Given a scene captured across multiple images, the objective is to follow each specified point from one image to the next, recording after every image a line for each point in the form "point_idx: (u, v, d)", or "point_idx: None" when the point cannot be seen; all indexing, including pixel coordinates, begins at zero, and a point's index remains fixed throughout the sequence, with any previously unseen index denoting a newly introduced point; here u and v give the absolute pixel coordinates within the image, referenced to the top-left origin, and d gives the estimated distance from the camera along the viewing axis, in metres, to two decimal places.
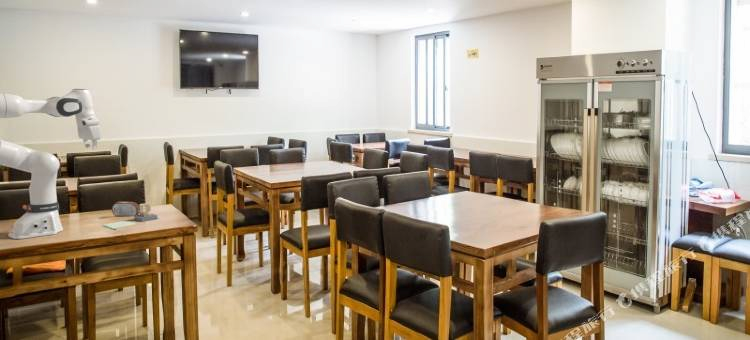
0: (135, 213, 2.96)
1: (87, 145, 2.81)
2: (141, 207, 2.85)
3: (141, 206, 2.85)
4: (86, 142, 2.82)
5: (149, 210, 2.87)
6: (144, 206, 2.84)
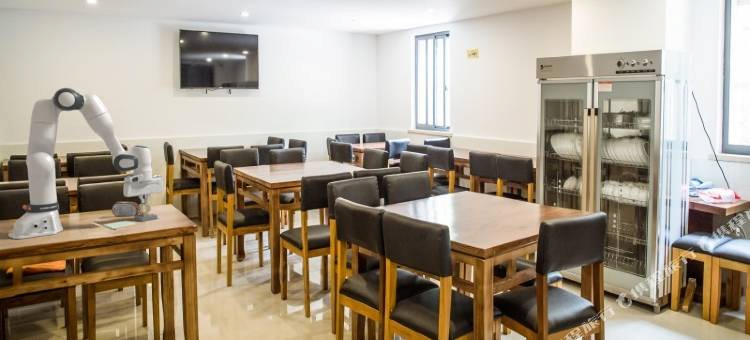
0: (135, 213, 2.96)
1: None
2: (141, 207, 2.85)
3: (141, 206, 2.85)
4: (146, 197, 2.87)
5: (149, 210, 2.87)
6: (144, 206, 2.84)
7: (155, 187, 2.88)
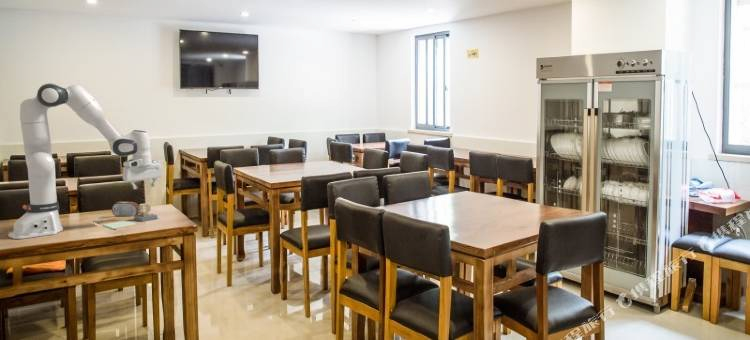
0: (135, 213, 2.96)
1: (151, 184, 2.89)
2: (141, 207, 2.85)
3: (141, 206, 2.85)
4: (153, 181, 2.89)
5: (149, 210, 2.87)
6: (144, 206, 2.84)
7: (154, 172, 2.87)
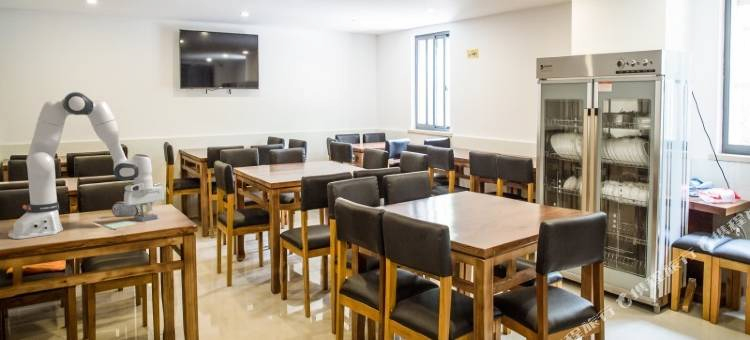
0: (135, 213, 2.96)
1: None
2: (141, 207, 2.85)
3: (141, 206, 2.85)
4: None
5: (149, 210, 2.87)
6: (144, 206, 2.84)
7: (155, 195, 2.89)
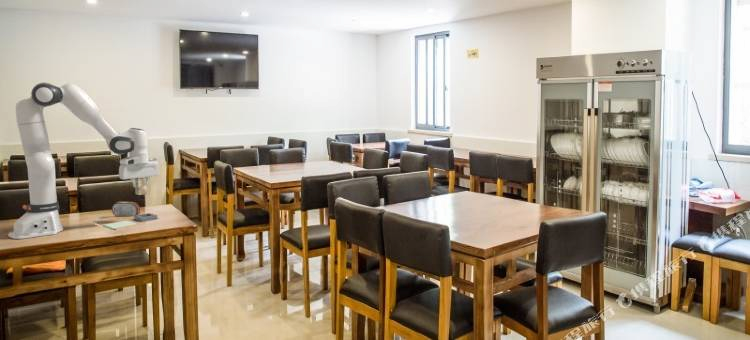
0: (135, 213, 2.96)
1: None
2: (136, 181, 2.82)
3: (136, 180, 2.82)
4: (146, 180, 2.86)
5: (144, 185, 2.84)
6: (139, 180, 2.81)
7: (151, 170, 2.86)
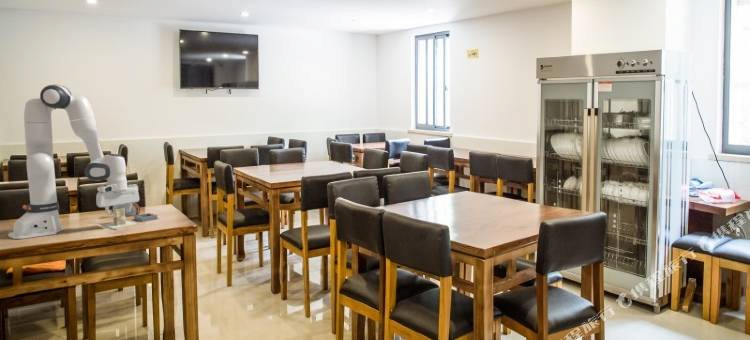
0: (135, 213, 2.96)
1: (126, 209, 2.79)
2: (115, 212, 2.74)
3: (115, 211, 2.74)
4: (129, 206, 2.79)
5: (123, 215, 2.75)
6: (118, 211, 2.73)
7: (130, 197, 2.78)
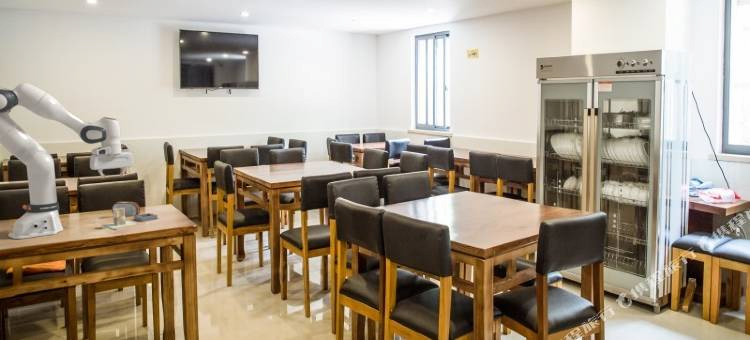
0: (135, 213, 2.96)
1: (120, 174, 2.80)
2: (115, 212, 2.74)
3: (115, 211, 2.74)
4: (122, 171, 2.81)
5: (123, 215, 2.75)
6: (118, 211, 2.73)
7: (124, 161, 2.79)
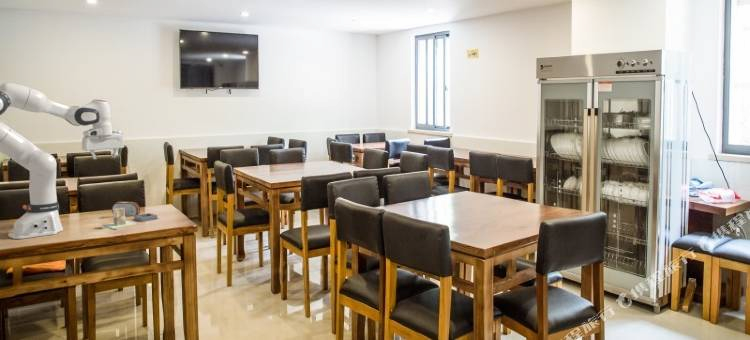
0: (135, 213, 2.96)
1: (112, 155, 2.88)
2: (115, 212, 2.74)
3: (115, 211, 2.74)
4: (114, 152, 2.88)
5: (123, 215, 2.75)
6: (118, 211, 2.73)
7: (115, 142, 2.86)
